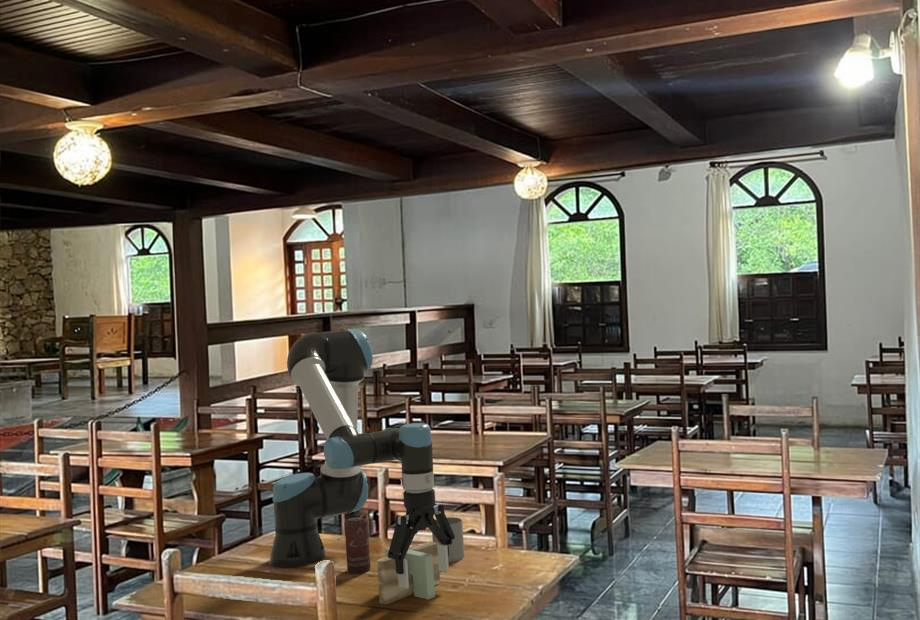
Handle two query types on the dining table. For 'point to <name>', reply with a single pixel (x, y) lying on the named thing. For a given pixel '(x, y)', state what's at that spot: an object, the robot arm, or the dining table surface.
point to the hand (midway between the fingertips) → (424, 579)
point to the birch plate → (389, 577)
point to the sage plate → (420, 573)
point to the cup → (457, 544)
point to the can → (357, 544)
